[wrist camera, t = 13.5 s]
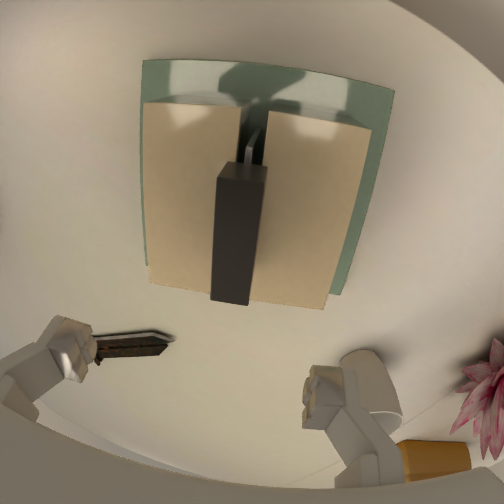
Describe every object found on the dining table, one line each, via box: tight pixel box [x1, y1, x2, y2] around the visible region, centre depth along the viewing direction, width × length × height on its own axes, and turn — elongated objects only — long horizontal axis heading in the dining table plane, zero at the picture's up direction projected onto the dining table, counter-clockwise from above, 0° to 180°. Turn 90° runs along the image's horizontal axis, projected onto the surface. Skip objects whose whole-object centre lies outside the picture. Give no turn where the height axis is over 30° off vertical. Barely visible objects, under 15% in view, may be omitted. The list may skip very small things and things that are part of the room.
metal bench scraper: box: [210, 127, 268, 306], centre depth 22 cm, size 10×2×10 cm, turn 174°
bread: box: [397, 440, 472, 483], centre depth 48 cm, size 24×13×15 cm, turn 68°
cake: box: [140, 59, 395, 310], centre depth 24 cm, size 20×20×7 cm
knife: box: [94, 332, 175, 366], centre depth 41 cm, size 25×6×1 cm, turn 103°
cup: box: [339, 350, 404, 435], centre depth 33 cm, size 8×8×10 cm
